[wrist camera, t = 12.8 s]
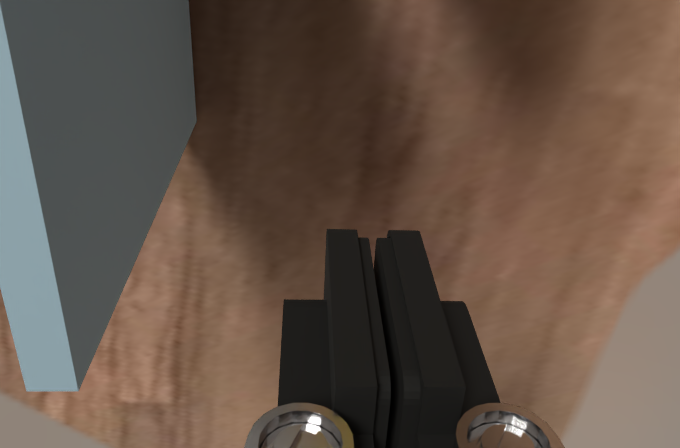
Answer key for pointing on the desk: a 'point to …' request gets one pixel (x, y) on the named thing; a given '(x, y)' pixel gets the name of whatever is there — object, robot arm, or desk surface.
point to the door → (83, 164)
